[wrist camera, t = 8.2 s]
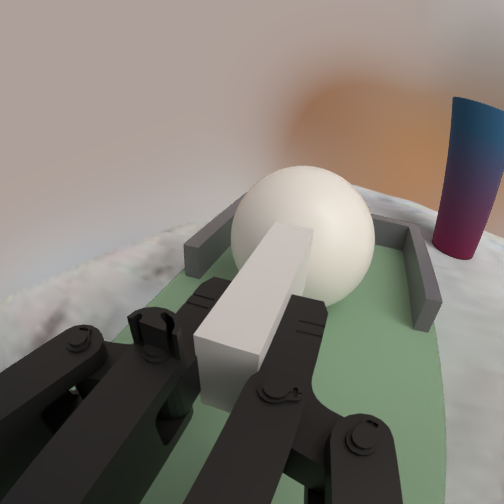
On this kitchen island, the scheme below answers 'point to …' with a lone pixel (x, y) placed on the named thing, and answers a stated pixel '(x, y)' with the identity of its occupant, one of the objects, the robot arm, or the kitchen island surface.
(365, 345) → the mat
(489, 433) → the kitchen island surface
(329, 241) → the ball
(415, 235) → the grey u-shaped wall
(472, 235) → the cup
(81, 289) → the kitchen island surface
